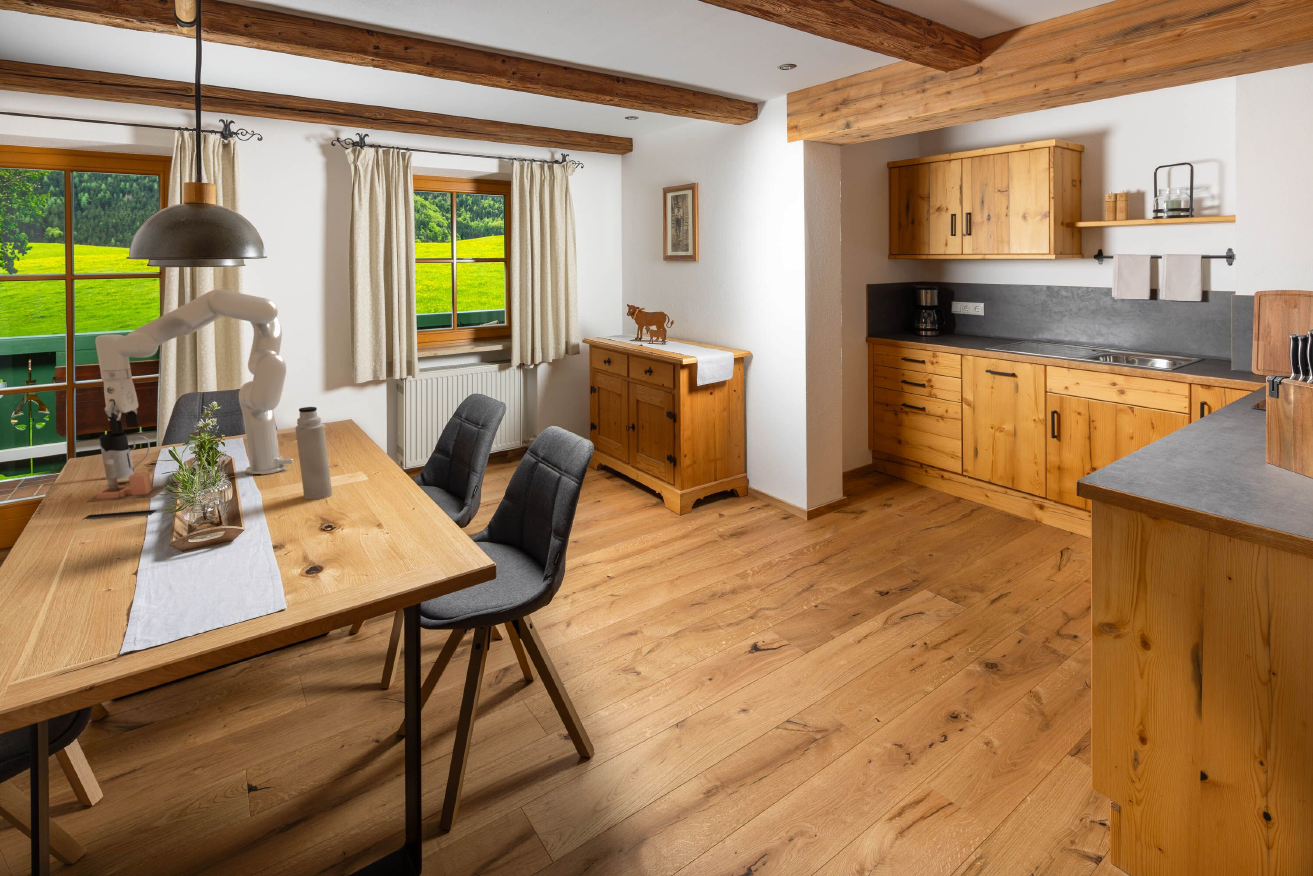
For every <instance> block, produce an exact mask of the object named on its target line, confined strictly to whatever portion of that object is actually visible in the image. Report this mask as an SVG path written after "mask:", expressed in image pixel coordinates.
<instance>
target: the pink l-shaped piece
mask: <svg viewBox="0 0 1313 876" xmlns="http://www.w3.org/2000/svg"><path fill="white" fill-rule="evenodd" d="M128 481H129V485H122V486H120V485H118V488H119V491H118V492H109V487H104V488H102V489H100V490H98V491H97V492H95V497H96V499H98V498H100V499H105V498H119V497H124V496H126V495H129V494H132V495H141V494H147V493H149V492H150V491H152V488H151V487H152V483H151V477H150V472H149V471H147V472H146V471H145V472H142V471H141V472H134V474H132V475H130V476H129V478H128Z"/></svg>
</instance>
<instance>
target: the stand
mask: <svg viewBox="0 0 1313 876" xmlns="http://www.w3.org/2000/svg"><path fill="white" fill-rule="evenodd" d="M104 466H105V468H104V471H106V473H105V478H106V477H107V481H106V482H107V486H108V487H107V488H109V492H118V491H119V488H118V486H119V485H118V484H119V483H118V479H117V477H116V472H115V467H114V461H113V459H110V460H104V463H103V467H104ZM164 486H165V485H159V486H151V488H152V491H150V492H149V493H147V494H141V495H132V494H129V495H126V496H124V497H119V498H105V499H100V498H98V499H96V496H94V497H92V498H91V499H89V500H88V501H86V503H96V502H110V501H112V502H113V501H123V500H124V501H127V500H139V499H141V500H142V499H153V498H155V497H156V496H158V495H159V494H160V493H162V492H163V491H165V490H166V489H164Z"/></svg>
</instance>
